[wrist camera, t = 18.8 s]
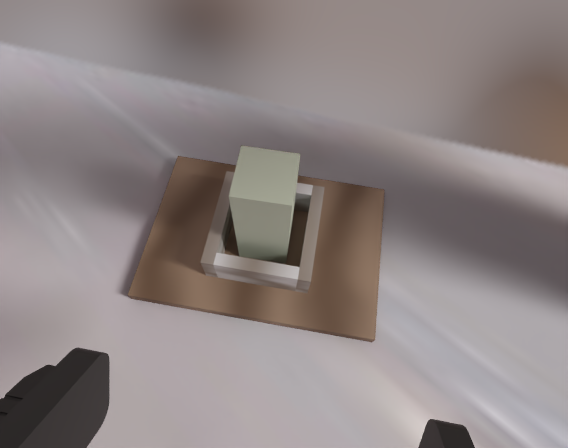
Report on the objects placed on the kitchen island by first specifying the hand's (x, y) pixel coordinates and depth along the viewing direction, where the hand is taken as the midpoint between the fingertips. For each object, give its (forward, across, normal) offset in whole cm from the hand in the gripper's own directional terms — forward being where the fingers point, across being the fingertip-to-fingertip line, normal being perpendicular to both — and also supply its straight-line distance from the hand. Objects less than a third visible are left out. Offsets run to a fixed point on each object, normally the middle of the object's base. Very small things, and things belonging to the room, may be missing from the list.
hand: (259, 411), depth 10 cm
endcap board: (+25, +3, +6) cm, 25 cm away
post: (+24, +3, +5) cm, 25 cm away
